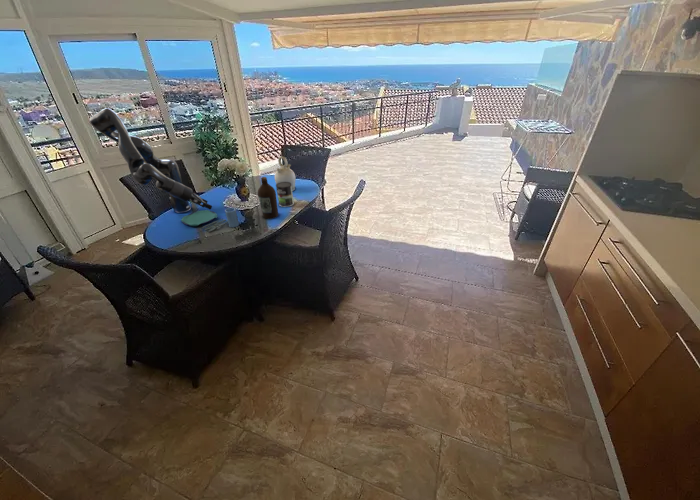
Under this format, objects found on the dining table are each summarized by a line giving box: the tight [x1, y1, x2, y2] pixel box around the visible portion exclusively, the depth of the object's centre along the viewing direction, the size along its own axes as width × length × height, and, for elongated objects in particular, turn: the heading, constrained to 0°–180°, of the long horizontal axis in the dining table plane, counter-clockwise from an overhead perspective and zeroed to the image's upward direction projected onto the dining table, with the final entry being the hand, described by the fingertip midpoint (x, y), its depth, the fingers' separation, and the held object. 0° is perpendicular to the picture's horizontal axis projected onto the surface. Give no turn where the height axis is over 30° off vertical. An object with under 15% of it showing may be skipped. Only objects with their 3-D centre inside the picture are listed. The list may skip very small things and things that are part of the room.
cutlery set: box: [180, 209, 228, 233], centre depth 180 cm, size 20×30×2 cm, turn 53°
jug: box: [274, 155, 297, 192], centre depth 216 cm, size 15×16×25 cm
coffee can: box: [275, 182, 295, 208], centre depth 197 cm, size 10×10×14 cm
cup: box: [224, 207, 240, 228], centre depth 174 cm, size 6×6×10 cm
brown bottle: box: [257, 176, 279, 220], centre depth 179 cm, size 11×11×25 cm
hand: (209, 205), depth 163 cm, fingers open, 8 cm apart
